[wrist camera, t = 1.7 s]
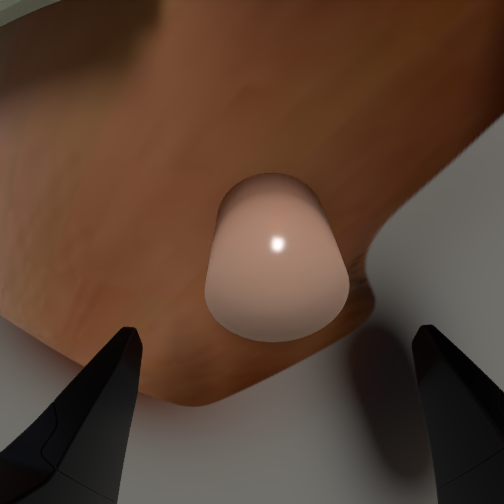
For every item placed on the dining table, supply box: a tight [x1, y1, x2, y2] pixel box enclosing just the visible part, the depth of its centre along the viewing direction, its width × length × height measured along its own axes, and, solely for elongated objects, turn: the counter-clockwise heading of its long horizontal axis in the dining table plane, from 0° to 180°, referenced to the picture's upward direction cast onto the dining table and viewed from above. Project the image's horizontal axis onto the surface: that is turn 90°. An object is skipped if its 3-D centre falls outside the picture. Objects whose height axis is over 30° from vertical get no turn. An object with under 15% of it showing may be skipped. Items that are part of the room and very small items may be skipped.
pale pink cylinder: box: [205, 173, 349, 342], centre depth 13 cm, size 5×5×5 cm
